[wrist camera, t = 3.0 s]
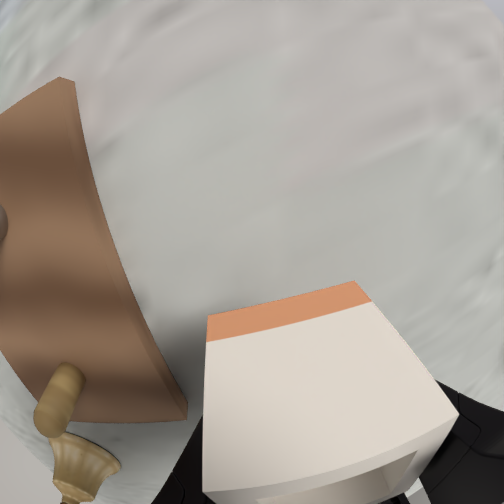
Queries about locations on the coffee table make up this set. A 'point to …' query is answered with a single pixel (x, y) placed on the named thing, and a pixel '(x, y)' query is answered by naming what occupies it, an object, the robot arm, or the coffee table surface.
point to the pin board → (69, 280)
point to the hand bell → (80, 467)
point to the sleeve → (316, 403)
